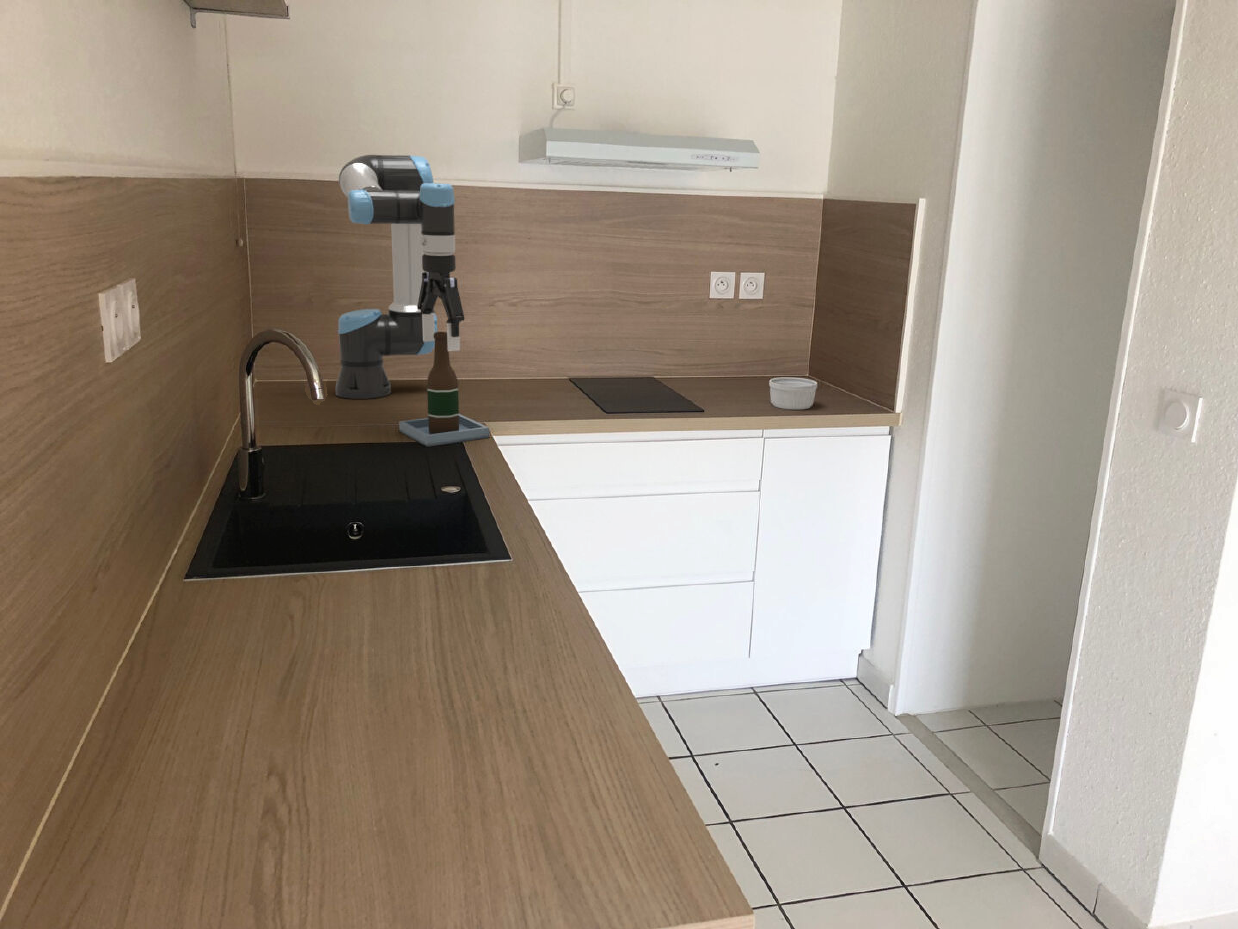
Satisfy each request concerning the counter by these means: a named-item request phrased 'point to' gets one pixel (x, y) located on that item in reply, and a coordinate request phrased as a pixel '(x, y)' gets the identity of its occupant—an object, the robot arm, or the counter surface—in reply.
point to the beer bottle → (442, 390)
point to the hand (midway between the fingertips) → (441, 345)
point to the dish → (421, 433)
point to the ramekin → (792, 393)
